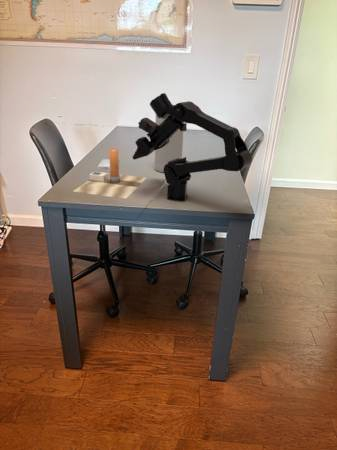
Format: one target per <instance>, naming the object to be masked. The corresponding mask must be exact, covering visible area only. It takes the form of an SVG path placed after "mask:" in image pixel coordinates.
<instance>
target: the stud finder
mask: <svg viewBox="0 0 337 450" xmlns="http://www.w3.org/2000/svg"><path fill="white" fill-rule="evenodd" d="M107 173H108V172H103V173H102V171H99V172H98V171H93V172H91V173H90V174H89V175H88V176H89V180H92V181H100V182H104V181H106V180H107V179H108V175H107Z"/></svg>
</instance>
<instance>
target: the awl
mask: <svg viewBox="0 0 337 450" xmlns="http://www.w3.org/2000/svg"><path fill="white" fill-rule="evenodd" d="M108 150H109V151H108V153H109V155H108V156H109V159H110V169H109V170H110V172H109V173H110V182H111V183H119V182H120V175H121V174H120V165H119V163H120V159H119V149H118V148H109V149H108Z"/></svg>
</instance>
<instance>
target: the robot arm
mask: <svg viewBox="0 0 337 450" xmlns="http://www.w3.org/2000/svg"><path fill="white" fill-rule="evenodd" d="M149 106H150V108H151V109H152V111H153V112H154V114H155V116H156V115H157V116H158V118H162V119H165V118H166V119H165V120H164V121H163V122H162V123H161V124H160V125H157V124H156V121H153V120H151V119H150V118H148V117H143V118H141V119H140V121H139V122H138V123H137V124H138V126H137V127H138V128H139V129H140V130H142V131H144V132H145V133H146V136H141V137H138V139H137V140H136V141H135V145H136V146H137V148H136V150H135V152H134V153H133V155H132V159H133V160H138V159H142V158H144V157H148V156H150V155H151V154H152V153H153V152H155V150H157V149H160V148H162V147H164V146H166V145H167V144H168V143H169V138H171V137H172V135H173V134H174V133H175V132H177V131H178V130H179V129H180V131H183V132H187V127H188V126H187V125H188V124H191V125H195V126H196V127H197V126H198V127H199V128H201V129H203V130H205V131H207V132H209V133H211V134H213V135H215V136H217V137H218V138H220V139H222V140H223V143H224V152H225V153H224V154H225V155H224V156H218V157H217V156H216V157H211V158H206V159H200V160H199V159H198V160H193V161H189V160H187V156H185V157H182V159H180V158H177V159H174V160H172V161H169V162H168V164H166V165H165V166H164V173H163V174H164V177H165V181H166V182H165V183H166V184H167V194H166V195H167V196H166V197H167V198H166V199H167V200H171V201H172V200H173V201H180V202H185V200H186V199H187V197H188V193H187V192H188V191H187V190H188V181H190V180H191V178H192V175H191V174H192V173H201V172H209V171H217V170H224V171H227V172H239V171H241V170H244V169H245V168H246V167H249V166H250V165H251V163H252V161H253V156H252V153H251V152H250V151H249V149H248V146H247V143H245V141H244V139H243V138H242V136H241V133H240V130H239V129H238V128H236V127H235V126H234V127H233V126H231V125H229V124H227V123H225V122H224V121H221V120H219V119H217V118H215V117H213V116H211V115H208V114H207V113H205V112H204V111H202V109H201V108H200V107H199V106H198V105H197V104H195V103H194V102H193V101H181V102H178V103H176V104H173V103H172V102H171V101H170V100H169V98H168V96H167V94H166V92H165V93H164V92H162V93H160V94H159V95H157V96H156V97H155V98H153V99H152V100H151V101H150V103H149ZM183 122H184V123H183Z"/></svg>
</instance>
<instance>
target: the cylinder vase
mask: <svg viewBox="0 0 337 450" xmlns="http://www.w3.org/2000/svg"><path fill="white" fill-rule="evenodd" d="M165 119H166V118H165ZM165 119H162V118H158V116H157V115H156V114H155V123H156V124H157V125H160V124H161V123H162V122H163V121H164V120H165ZM183 123H185V122H183ZM183 144H184V131H180V129H179V130H178V131H177V132H175V133H174V134H173V135H172V137H171V138H169V143H168V144H167V145H166V146H164V147H162V148H160V149H157V150H154V170H156V171H157V172H160V173H163V174H164V166H165V165H166V164H168V162H169V161H172V160H174V159H177V158H180V159H182V158H183V146H184V145H183Z"/></svg>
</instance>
